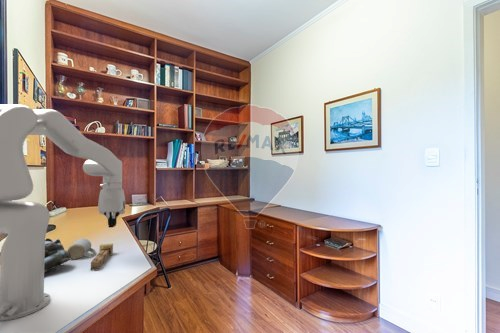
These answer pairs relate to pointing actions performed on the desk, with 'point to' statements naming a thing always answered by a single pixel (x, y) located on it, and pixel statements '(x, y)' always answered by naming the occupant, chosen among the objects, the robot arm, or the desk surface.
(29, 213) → the robot arm
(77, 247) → the ceramic mug
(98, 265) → the bar
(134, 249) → the desk surface
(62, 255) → the lucky cat figurine
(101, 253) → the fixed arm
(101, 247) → the collar
